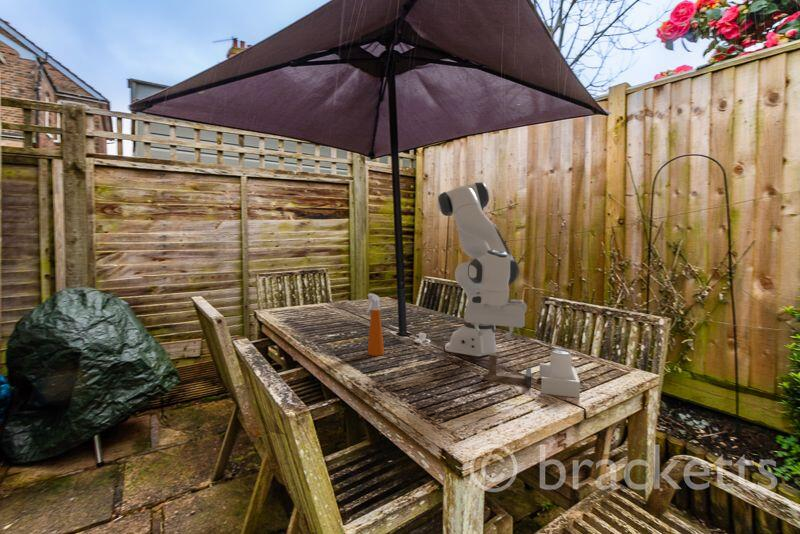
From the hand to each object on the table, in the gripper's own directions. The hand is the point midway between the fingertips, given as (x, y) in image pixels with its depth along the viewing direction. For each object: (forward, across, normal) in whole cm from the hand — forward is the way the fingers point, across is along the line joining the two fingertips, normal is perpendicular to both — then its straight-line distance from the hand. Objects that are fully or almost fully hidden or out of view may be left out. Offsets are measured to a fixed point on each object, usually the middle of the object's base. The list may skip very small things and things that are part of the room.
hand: (493, 337), depth 128 cm
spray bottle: (+17, +49, -11) cm, 53 cm away
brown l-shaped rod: (+15, -5, +1) cm, 15 cm away
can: (+14, -22, +2) cm, 26 cm away
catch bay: (+14, -22, +2) cm, 26 cm away
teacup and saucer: (+18, +37, -36) cm, 55 cm away
